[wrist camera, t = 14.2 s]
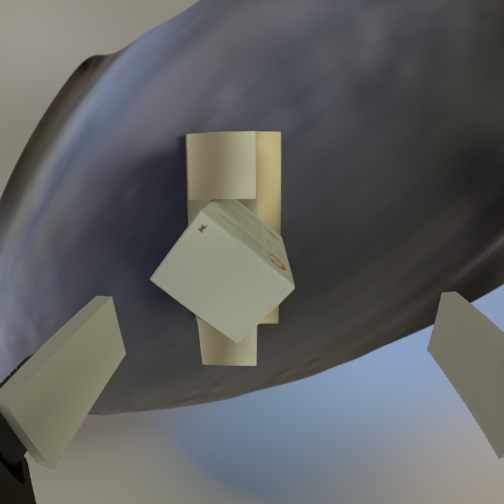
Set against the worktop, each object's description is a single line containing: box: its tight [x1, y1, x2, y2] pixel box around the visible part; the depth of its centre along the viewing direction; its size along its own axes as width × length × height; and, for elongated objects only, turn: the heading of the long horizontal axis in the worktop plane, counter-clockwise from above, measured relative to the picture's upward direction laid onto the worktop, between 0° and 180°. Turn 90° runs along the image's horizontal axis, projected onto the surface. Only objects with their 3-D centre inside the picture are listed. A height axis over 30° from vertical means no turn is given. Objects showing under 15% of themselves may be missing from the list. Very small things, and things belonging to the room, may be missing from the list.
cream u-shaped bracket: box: [186, 131, 281, 366], centre depth 28 cm, size 10×22×11 cm, turn 1°
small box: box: [150, 199, 295, 344], centre depth 26 cm, size 8×6×13 cm
